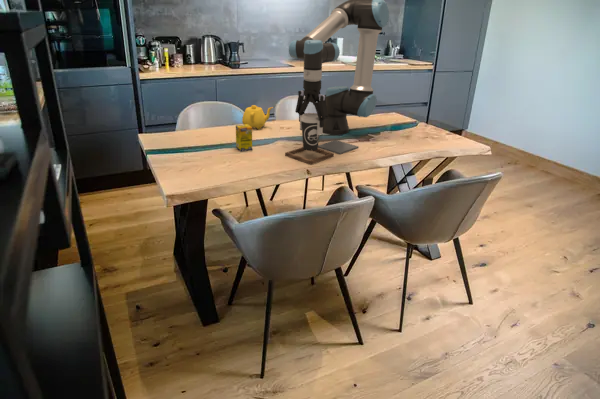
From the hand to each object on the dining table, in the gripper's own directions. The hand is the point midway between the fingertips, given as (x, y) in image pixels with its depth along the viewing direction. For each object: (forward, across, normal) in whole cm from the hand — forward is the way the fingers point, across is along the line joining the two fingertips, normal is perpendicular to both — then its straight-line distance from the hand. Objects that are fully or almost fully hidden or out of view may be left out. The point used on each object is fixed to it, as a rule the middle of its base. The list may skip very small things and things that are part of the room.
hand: (310, 131), depth 191 cm
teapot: (+12, -50, +13) cm, 53 cm away
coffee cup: (+8, 0, 0) cm, 8 cm away
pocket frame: (+11, 0, -1) cm, 11 cm away
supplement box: (+11, -27, -16) cm, 33 cm away
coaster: (+11, +1, +18) cm, 22 cm away
